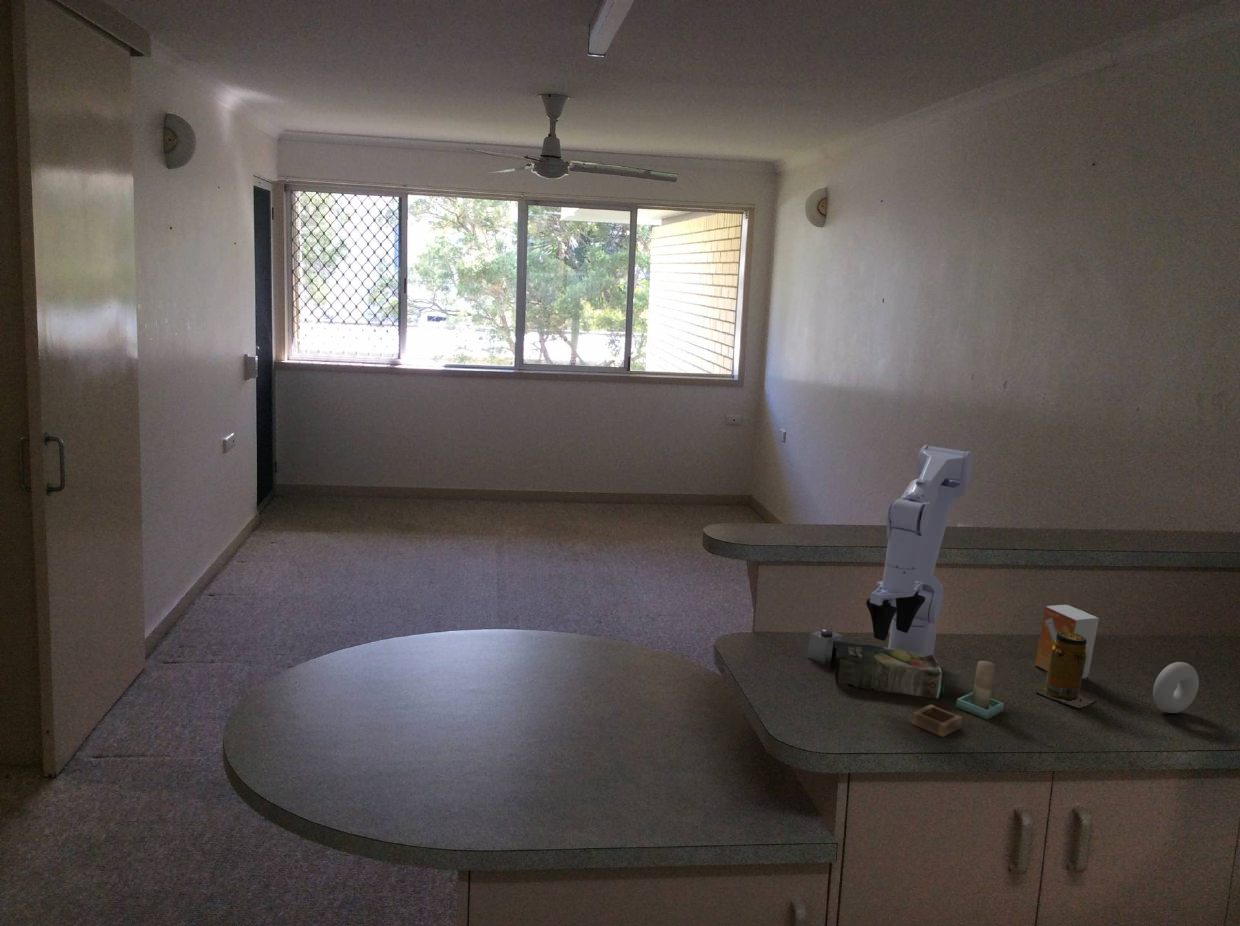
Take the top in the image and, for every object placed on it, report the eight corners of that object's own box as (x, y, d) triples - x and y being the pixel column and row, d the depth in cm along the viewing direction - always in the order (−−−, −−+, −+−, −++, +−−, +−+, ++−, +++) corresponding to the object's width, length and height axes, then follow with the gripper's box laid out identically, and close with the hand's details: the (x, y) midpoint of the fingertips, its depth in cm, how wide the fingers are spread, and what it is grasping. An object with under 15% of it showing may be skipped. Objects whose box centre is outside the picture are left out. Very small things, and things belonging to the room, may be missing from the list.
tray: (971, 699, 184) (973, 691, 184) (1002, 711, 180) (1004, 703, 180) (955, 706, 180) (956, 699, 180) (986, 719, 176) (988, 711, 175)
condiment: (1053, 685, 194) (1063, 627, 192) (1096, 702, 188) (1107, 642, 185) (1034, 693, 190) (1044, 633, 187) (1077, 710, 183) (1088, 648, 181)
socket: (929, 714, 176) (930, 704, 175) (960, 728, 171) (962, 717, 171) (911, 723, 171) (912, 712, 171) (942, 737, 167) (944, 725, 167)
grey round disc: (1160, 720, 182) (1171, 668, 180) (1144, 711, 185) (1154, 661, 183) (1197, 714, 186) (1207, 663, 184) (1180, 706, 189) (1190, 656, 187)
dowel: (971, 700, 182) (977, 659, 180) (988, 704, 181) (995, 662, 179) (971, 707, 179) (977, 665, 177) (988, 710, 178) (995, 668, 176)
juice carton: (935, 679, 192) (939, 649, 191) (944, 701, 183) (949, 670, 182) (829, 667, 195) (833, 637, 193) (833, 688, 185) (837, 657, 184)
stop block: (822, 652, 201) (825, 624, 200) (838, 658, 198) (842, 631, 197) (807, 657, 198) (810, 629, 197) (824, 664, 195) (827, 635, 194)
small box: (1033, 666, 203) (1044, 605, 201) (1057, 663, 206) (1067, 603, 203) (1065, 682, 196) (1076, 619, 194) (1088, 679, 199) (1100, 617, 196)
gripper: (903, 553, 190) (893, 621, 193) (860, 564, 180) (850, 635, 183) (936, 563, 185) (926, 632, 188) (894, 575, 176) (883, 648, 178)
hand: (891, 635), depth 185 cm, fingers open, 7 cm apart
